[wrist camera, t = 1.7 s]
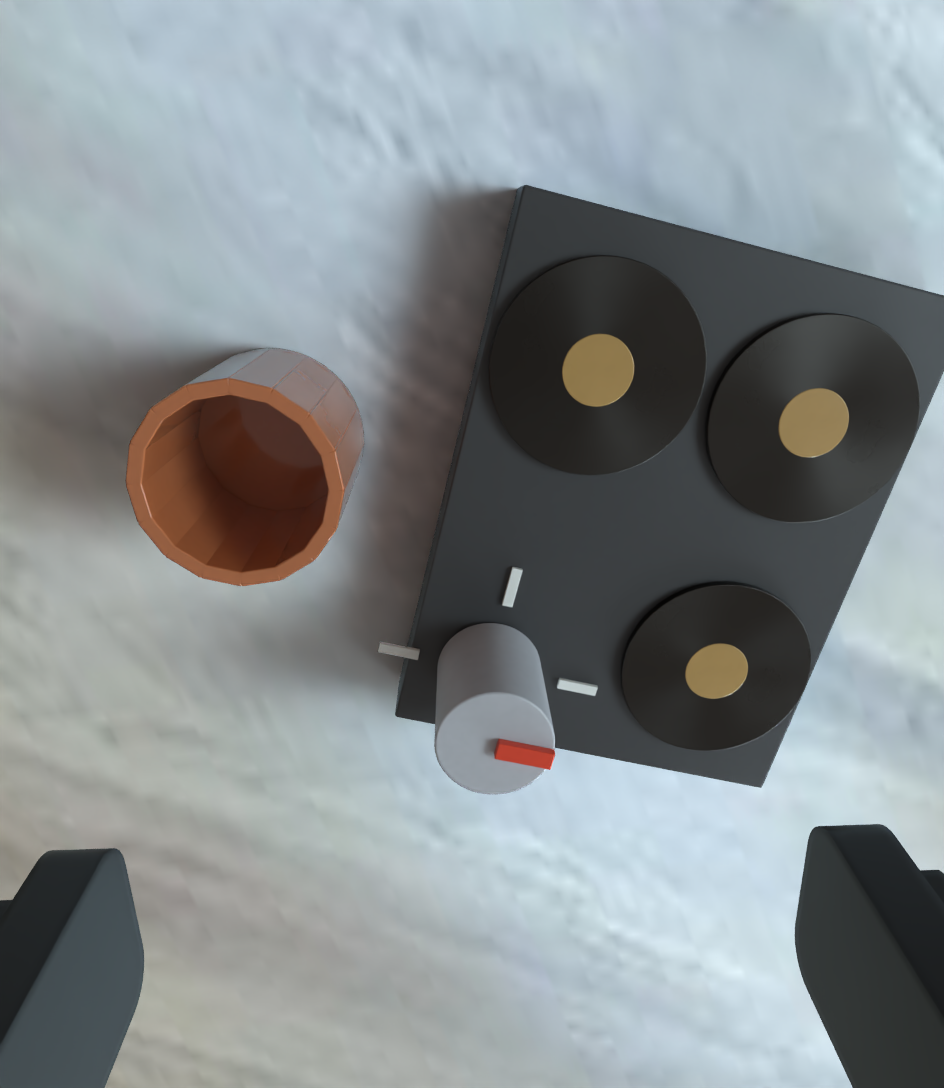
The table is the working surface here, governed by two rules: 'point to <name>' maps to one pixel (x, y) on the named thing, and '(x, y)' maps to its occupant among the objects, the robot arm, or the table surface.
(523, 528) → the hob
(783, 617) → the burners
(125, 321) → the table surface
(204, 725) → the table surface
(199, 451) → the copper pot
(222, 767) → the table surface
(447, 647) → the hob knob
